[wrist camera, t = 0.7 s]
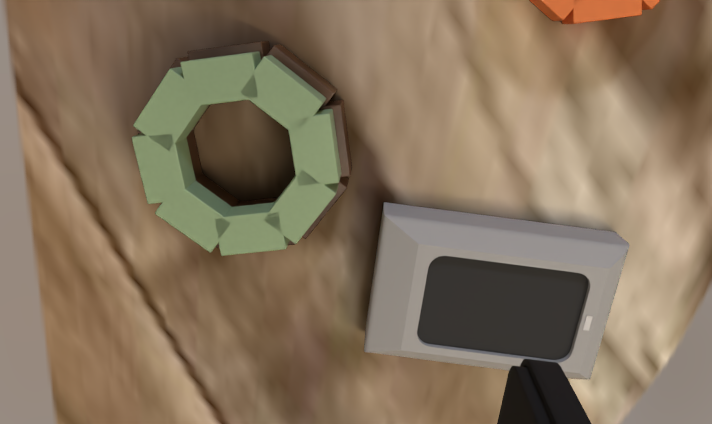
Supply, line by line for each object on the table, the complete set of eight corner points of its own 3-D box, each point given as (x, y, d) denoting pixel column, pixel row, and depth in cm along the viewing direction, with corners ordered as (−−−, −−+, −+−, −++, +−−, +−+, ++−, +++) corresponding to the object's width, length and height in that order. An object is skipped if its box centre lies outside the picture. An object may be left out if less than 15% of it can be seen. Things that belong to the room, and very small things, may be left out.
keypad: (384, 220, 33) (640, 253, 33) (383, 202, 36) (615, 232, 36) (363, 362, 36) (598, 392, 35) (365, 332, 39) (579, 359, 39)
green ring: (130, 68, 32) (114, 70, 30) (323, 42, 31) (320, 43, 29) (173, 249, 35) (161, 262, 33) (349, 231, 34) (347, 243, 33)
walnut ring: (135, 58, 34) (119, 60, 32) (334, 32, 33) (331, 32, 31) (179, 245, 38) (167, 257, 36) (359, 226, 37) (358, 238, 35)
